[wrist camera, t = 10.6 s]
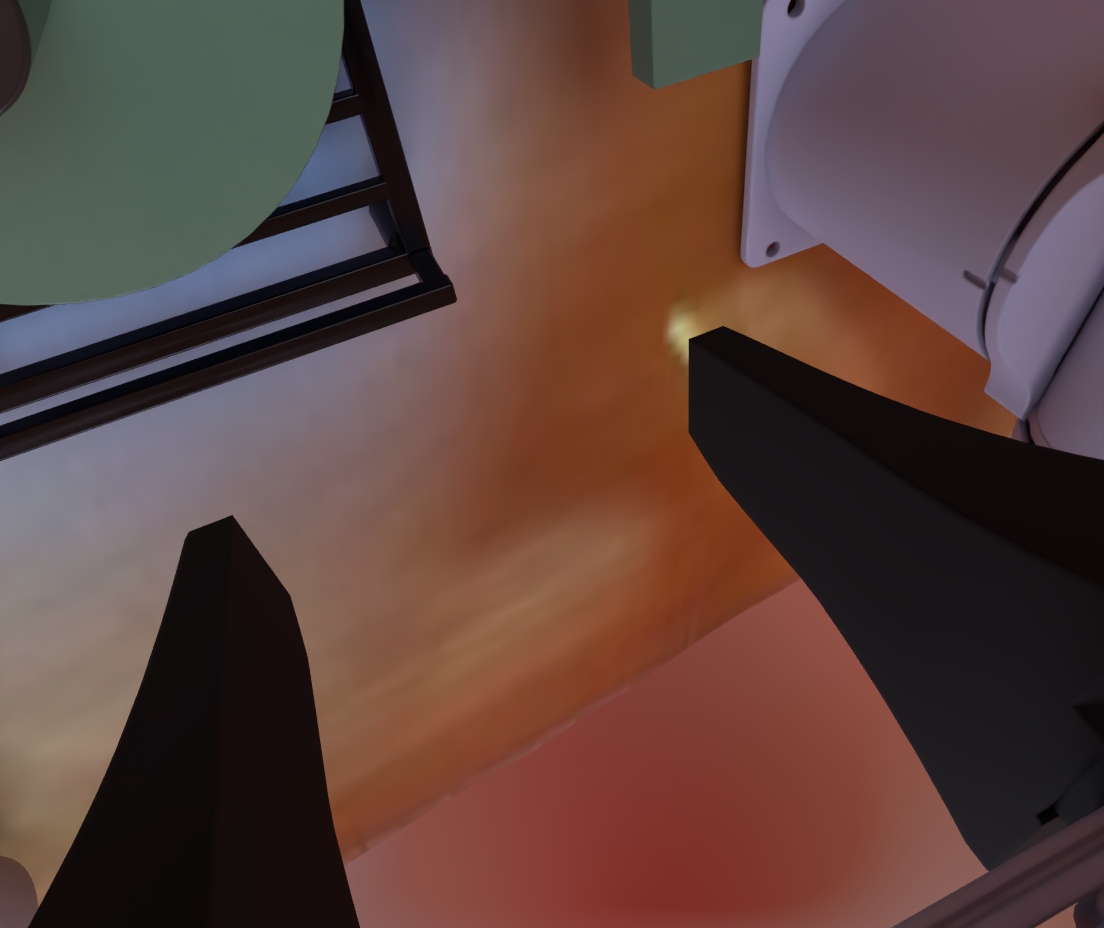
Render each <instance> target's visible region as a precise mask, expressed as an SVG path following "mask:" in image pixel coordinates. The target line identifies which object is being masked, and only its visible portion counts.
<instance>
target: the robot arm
mask: <svg viewBox="0 0 1104 928" xmlns="http://www.w3.org/2000/svg"><path fill="white" fill-rule="evenodd" d="M790 1H791V0H763V11H762V26H761V41H760V55H759V57H757V58H754V59H752V68H751V85H750V102H749V118H748V135H747V152H746V169H745V186H744V203H743V220H742V236H741V253H740V254H741V259H742V261H743V262H744V263H745V264H747V265H748V266H749V267H752V268H755V267H759V266H762V265H765V264H767V263H770V262H773V261H775V260H778V259H781V258H784V257H786V256H789V255H792V254H794V253H797V252H800V251H803V250H805V249H808V248H811V247H814V246H816V245H819V244H822V243H824V244H826V245H827V246H828V247H830V248H831V249H833V250H834V251H835V252H837V253H838V254H840V255H841V256H842V257H844V258H845V259H847V260H848V261H849V262H851V263H852V264H854V265H855V266H856V267H858V268H859V269H861V270H862V271H863V272H865V273H866V274H868V275H869V276H871V277H872V278H873V279H875V280H876V281H878V282H879V283H880V284H882V285H883V286H885V287H886V288H887V289H889V290H890V291H892V292H893V293H894V294H896V295H897V296H899V297H900V298H901V299H903V300H904V301H906V302H907V303H908V304H910V305H911V306H913V307H914V308H915V309H917V310H918V311H920V312H921V313H922V314H924V315H925V316H927V317H928V318H929V319H931V320H932V321H934V322H935V323H936V324H938V325H939V326H941V327H942V328H943V329H945V330H946V331H948V332H949V333H950V334H952V335H953V336H955V337H956V338H958V339H959V340H960V341H962V342H963V343H965V344H966V345H967V346H969V347H970V348H972V349H973V350H974V351H976V352H977V353H979V354H980V355H981V356H983V357H984V358H986V359H987V360H988V361H990V362H991V372H990V376H989V379H988V381H987V383H986V386H985V389H984V392H985V393H986V394H988V395H989V396H990V397H992V398H993V399H994V400H996V401H997V402H998V403H1000V404H1001V405H1002V406H1004V407H1005V408H1006V409H1008V410H1009V411H1010V412H1012V413H1013V414H1014V415H1016V416H1017V417H1018V420H1017V421H1016V423H1015V426H1014V429H1013V433H1012V437H1011V438H1007V437H1004V436H1000V435H996V434H993V433H990V432H986V431H983V430H980V429H976V428H973V427H970V426H967V425H963V424H960V423H957V422H953V421H950V420H947V419H944V418H941V417H938V416H935V415H932V414H929V413H926V412H923V411H920V410H918V409H915V408H912V407H910V406H907V405H904V404H902V403H899V402H896V401H894V400H891V399H889V398H886V397H883V396H881V395H878V394H876V393H873V392H871V391H868V390H866V389H863V388H861V387H858V386H856V385H854V384H851V383H849V382H847V381H844V380H842V379H840V378H837V377H835V376H833V375H830V374H828V373H826V372H824V371H821V370H819V369H817V368H815V367H812V366H810V365H808V364H806V363H804V362H801V361H799V360H797V359H795V358H793V357H791V356H788V355H786V354H784V353H782V352H780V351H778V350H775V349H773V348H771V347H769V346H767V345H765V344H762V343H760V342H758V341H756V340H754V339H752V338H749V337H747V336H745V335H743V334H740V333H738V332H736V331H734V330H731V329H729V328H727V327H724V326H722V327H719V328H717V329H714V330H712V331H709V332H706V333H704V334H701V335H699V336H696V337H693V338H691V339H689V434H690V435H691V437H692V439H693V440H694V442H695V443H696V445H697V447H698V448H699V450H700V452H701V453H702V455H703V456H704V458H705V460H706V461H707V463H708V464H709V466H710V467H711V469H712V470H713V472H714V473H715V475H716V476H717V478H718V480H719V481H720V482H721V484H722V485H723V486H724V487H725V488H726V490H727V491H728V492H729V493H730V495H731V496H732V497H733V498H734V499H735V501H736V502H737V503H738V504H739V505H740V507H741V508H742V509H743V510H744V511H745V513H746V514H747V515H748V516H749V517H750V518H751V520H752V521H753V522H754V523H755V524H756V526H757V527H758V528H759V529H760V530H761V531H762V533H763V534H764V535H765V536H766V537H767V539H768V540H769V541H770V542H771V543H772V544H773V546H774V547H775V548H776V549H777V550H778V551H779V553H780V554H781V555H782V556H783V557H784V559H785V560H786V561H787V562H788V563H789V564H790V566H791V567H792V568H793V569H794V570H795V572H796V573H797V574H798V575H799V576H800V577H801V579H802V580H803V581H804V582H805V584H806V585H807V586H808V587H809V589H810V590H811V591H812V593H813V594H814V595H815V597H816V598H817V599H818V600H819V602H820V603H821V605H822V606H823V608H824V609H825V611H826V612H827V614H828V615H829V616H830V618H831V619H832V621H833V622H834V624H835V625H836V627H837V628H838V630H839V631H840V633H841V634H842V636H843V637H844V639H845V640H846V642H847V643H848V644H849V646H850V647H851V649H852V650H853V652H854V654H855V655H856V657H857V658H858V660H859V661H860V663H861V664H862V666H863V667H864V669H865V670H866V672H867V674H868V675H869V677H870V678H871V680H872V682H873V683H874V684H875V686H876V688H877V689H878V691H879V692H880V694H881V695H882V697H883V699H884V700H885V702H886V704H887V705H888V707H889V709H890V710H891V712H892V714H893V715H894V717H895V719H896V720H897V722H898V724H899V725H900V727H901V729H902V730H903V732H904V734H905V735H906V737H907V738H908V740H909V742H910V743H911V745H912V747H913V748H914V750H915V752H916V753H917V755H918V757H919V759H920V760H921V762H922V764H923V766H924V768H925V769H926V771H927V773H928V775H929V777H930V778H931V780H932V782H933V784H934V785H935V787H936V789H937V791H938V793H939V794H940V796H941V798H942V800H943V801H944V803H945V805H946V807H947V808H948V810H949V812H950V814H951V816H952V818H953V820H954V822H955V823H956V825H957V827H958V829H959V831H960V833H961V835H962V837H963V839H964V841H965V842H966V843H967V845H968V846H969V847H970V849H971V850H972V851H973V853H974V854H975V855H976V856H977V858H978V859H979V860H980V862H981V863H982V864H983V866H984V867H985V868H986V869H987V870H988V871H989V872H988V873H986V874H984V875H982V876H981V877H979V878H977V879H975V880H974V881H972V882H970V883H968V884H967V885H965V886H963V887H961V888H960V889H958V890H956V891H954V892H953V893H951V894H949V895H947V896H946V897H944V898H942V899H941V900H939V901H937V902H935V903H934V904H932V905H930V906H929V907H927V908H925V909H923V910H921V911H920V912H918V913H916V914H914V915H913V916H911V917H909V918H907V919H906V920H904V921H902V922H900V923H899V924H897V925H895V926H893V927H892V928H1035V927H1037V926H1039V925H1040V924H1042V923H1044V922H1045V921H1047V920H1049V919H1050V918H1052V917H1054V916H1055V915H1057V914H1058V913H1060V912H1062V911H1063V910H1065V909H1067V908H1068V907H1070V906H1072V905H1074V904H1075V903H1077V902H1078V903H1077V905H1075V908H1074V915H1073V916H1074V921H1075V924H1076V928H1104V0H796V3H795V6H794V8H793V9H792V11H791V12H789V13H788V10H787V9H788V5H789V2H790ZM771 243H773V244H772V246H771V247H770V249H768V250H767V248H768V246H769V245H770V244H771ZM28 928H360V926H359V922H358V919H357V915H356V911H355V907H354V904H353V900H352V896H351V893H350V889H349V885H348V881H347V877H346V873H345V869H344V865H343V861H342V857H341V853H340V849H339V845H338V841H337V838H336V834H335V830H334V825H333V819H332V814H331V809H330V804H329V798H328V792H327V785H326V778H325V771H324V764H323V757H322V750H321V743H320V736H319V729H318V723H317V716H316V709H315V702H314V695H313V689H312V682H311V675H310V669H309V663H308V657H307V653H306V649H305V646H304V642H303V638H302V635H301V631H300V627H299V624H298V620H297V617H296V614H295V610H294V607H293V603H292V600H291V596H290V595H289V593H288V592H287V590H286V589H285V588H284V586H283V585H282V583H281V582H280V581H279V579H278V578H277V576H276V575H275V574H274V572H273V571H272V570H271V568H270V567H269V565H268V564H267V563H266V561H265V560H264V558H263V557H262V556H261V554H260V553H259V551H258V550H257V549H256V547H255V546H254V545H253V543H252V542H251V540H250V539H249V538H248V536H247V535H246V533H245V532H244V531H243V529H242V528H241V526H240V525H239V524H238V522H237V521H236V519H235V518H234V517H233V515H231V516H229V517H226V518H224V519H221V520H218V521H216V522H213V523H211V524H208V525H205V526H203V527H200V528H198V529H195V530H192V531H190V532H189V533H188V535H187V537H186V539H185V541H184V545H183V548H182V552H181V556H180V559H179V563H178V567H177V570H176V574H175V578H174V581H173V585H172V588H171V592H170V595H169V599H168V602H167V606H166V609H165V612H164V616H163V619H162V622H161V626H160V629H159V632H158V635H157V638H156V641H155V644H154V647H153V650H152V653H151V656H150V659H149V662H148V665H147V668H146V671H145V674H144V677H143V680H142V683H141V686H140V688H139V691H138V694H137V696H136V699H135V701H134V704H133V707H132V709H131V712H130V714H129V717H128V720H127V722H126V725H125V727H124V730H123V732H122V735H121V738H120V740H119V743H118V745H117V748H116V750H115V753H114V755H113V757H112V760H111V762H110V764H109V767H108V769H107V771H106V774H105V776H104V778H103V781H102V783H101V785H100V787H99V789H98V792H97V794H96V796H95V798H94V800H93V802H92V805H91V807H90V809H89V811H88V813H87V815H86V817H85V819H84V821H83V823H82V825H81V828H80V830H79V832H78V834H77V836H76V838H75V840H74V842H73V844H72V846H71V848H70V850H69V851H68V853H67V855H66V857H65V859H64V861H63V863H62V865H61V867H60V869H59V870H58V872H57V874H56V876H55V878H54V880H53V882H52V884H51V886H50V887H49V889H48V891H47V893H46V895H45V897H44V899H43V901H42V903H41V904H40V906H39V908H38V910H37V912H36V913H35V915H34V917H33V919H32V921H31V922H30V924H29V926H28Z"/></svg>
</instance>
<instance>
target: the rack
mask: <svg viewBox="0 0 1104 928" xmlns="http://www.w3.org/2000/svg"><path fill="white" fill-rule="evenodd" d="M341 58H342V61H343V65H344V68H345V71H346V74H347V77H348V80H349V83H350V87H351V89H348V90H344V91H341V92H338V93H334V96H333V100H332V104H331V108H330V112H329V115H328V118H327V120H326V123H325V125H326V124H330V123H333V122H336V121H340V120H343V119H346V118H350V117H353V116H357V115H360V118H361V121H362V124H363V128H364V131H365V134H366V137H367V140H368V143H369V146H370V150H371V153H372V156H373V159H374V162H375V165H376V168H377V172H378V175H379V176H377V177H374V178H371V179H368V180H365V181H361V182H358V183H355V184H352V185H349V186H345V187H342V188H339V189H336V190H333V191H329V192H326V193H323V194H320V195H317V196H313V197H310V198H307V199H304V200H301V201H297V202H294V203H291V204H288V205H284V206H281V207H278V208H276V209H275V210H274V211H273V212H272V213H271V214H270V215H269V216H268V217H267V218H266V219H265V220H264V221H263V222H262V223H261V224H260V225H259V226H258V227H257V228H256V229H255V230H254V231H253V232H252V233H251V234H250V235H249V236H247V237H246V238H245V239H243V240H242V241H241V242H239V243H238V244H236V245H235V246H234V247H232V248H231V249H233V248H236V247H239V246H242V245H245V244H249V243H252V242H255V241H258V240H261V239H264V238H267V237H271V236H274V235H277V234H280V233H283V232H286V231H289V230H293V229H296V228H299V227H302V226H305V225H308V224H311V223H315V222H318V221H321V220H324V219H327V218H330V217H333V216H337V215H340V214H343V213H346V212H349V211H352V210H355V209H359V208H362V207H365V206H368V205H369V212H370V215H371V217H372V219H373V221H374V223H375V225H376V227H377V229H378V230H379V232H380V234H381V236H382V238H383V240H384V242H385V244H386V246H387V247H385V248H382V249H379V250H376V251H373V252H370V253H367V254H364V255H361V256H358V257H355V258H352V259H349V260H346V261H343V262H340V263H337V264H334V265H330V266H327V267H324V268H321V269H318V270H315V271H312V272H309V273H306V274H303V275H300V276H297V277H294V278H291V279H288V280H285V281H282V282H279V283H276V284H273V285H270V286H267V287H264V288H261V289H258V290H255V291H252V292H249V293H246V294H242V295H239V296H236V297H233V298H230V299H227V300H224V301H221V302H218V303H215V304H212V305H209V306H206V307H203V308H200V309H197V310H194V311H191V312H188V313H185V314H182V315H179V316H176V317H173V318H170V319H167V320H164V321H161V322H158V323H155V324H151V325H148V326H145V327H142V328H139V329H136V330H133V331H130V332H127V333H124V334H121V335H118V336H115V337H112V338H109V339H106V340H103V341H100V342H97V343H94V344H91V345H88V346H85V347H82V348H79V349H76V350H73V351H70V352H67V353H63V354H60V355H57V356H54V357H51V358H48V359H45V360H42V361H39V362H36V363H33V364H30V365H27V366H24V367H21V368H18V369H15V370H12V371H9V372H6V373H3V374H0V414H1V413H4V412H7V411H10V410H13V409H16V408H19V407H22V406H25V405H28V404H31V403H33V402H36V401H39V400H42V399H45V398H48V397H51V396H54V395H57V394H60V393H63V392H66V391H69V390H72V389H75V388H78V387H81V386H84V385H87V384H90V383H93V382H96V381H99V380H101V379H104V378H107V377H110V376H113V375H116V374H119V373H122V372H125V371H128V370H131V369H134V368H137V367H140V366H143V365H146V364H149V363H152V362H155V361H158V360H161V359H164V358H167V357H169V356H172V355H175V354H178V353H181V352H184V351H187V350H190V349H193V348H196V347H199V346H202V345H205V344H208V343H211V342H214V341H217V340H220V339H223V338H226V337H229V336H232V335H235V334H237V333H240V332H243V331H246V330H249V329H252V328H255V327H258V326H261V325H264V324H267V323H270V322H273V321H276V320H279V319H282V318H285V317H288V316H291V315H294V314H297V313H300V312H302V311H305V310H308V309H311V308H314V307H317V306H320V305H323V304H326V303H329V302H332V301H335V300H338V299H341V298H344V297H347V296H350V295H353V294H356V293H359V292H362V291H365V290H368V289H370V288H373V287H376V286H379V285H382V284H385V283H388V282H391V281H394V280H397V279H400V278H403V277H406V276H409V275H412V274H416V276H417V278H418V280H419V282H420V283H417V284H414V285H411V286H408V287H405V288H403V289H400V290H397V291H394V292H391V293H388V294H385V295H382V296H379V297H376V298H373V299H370V300H367V301H364V302H361V303H359V304H356V305H353V306H350V307H347V308H344V309H341V310H338V311H335V312H332V313H329V314H326V315H323V316H320V317H317V318H315V319H312V320H309V321H306V322H303V323H300V324H297V325H294V326H291V327H288V328H285V329H282V330H279V331H276V332H273V333H271V334H268V335H265V336H262V337H259V338H256V339H253V340H250V341H247V342H244V343H241V344H238V345H235V346H232V347H229V348H227V349H224V350H221V351H218V352H215V353H212V354H209V355H206V356H203V357H200V358H197V359H194V360H191V361H188V362H185V363H183V364H180V365H177V366H174V367H171V368H168V369H165V370H162V371H159V372H156V373H153V374H150V375H147V376H144V377H141V378H139V379H136V380H133V381H130V382H127V383H124V384H121V385H118V386H115V387H112V388H109V389H106V390H103V391H100V392H97V393H95V394H92V395H89V396H86V397H83V398H80V399H77V400H74V401H71V402H68V403H65V404H62V405H59V406H56V407H53V408H51V409H48V410H45V411H42V412H39V413H36V414H33V415H30V416H27V417H24V418H21V419H18V420H15V421H12V422H9V423H7V424H4V425H1V426H0V461H2V460H5V459H8V458H11V457H14V456H16V455H19V454H22V453H25V452H28V451H31V450H34V449H36V448H39V447H42V446H45V445H48V444H51V443H54V442H57V441H59V440H62V439H65V438H68V437H71V436H74V435H77V434H80V433H82V432H85V431H88V430H91V429H94V428H97V427H100V426H102V425H105V424H108V423H111V422H114V421H117V420H120V419H123V418H125V417H128V416H131V415H134V414H137V413H140V412H143V411H145V410H148V409H151V408H154V407H157V406H160V405H163V404H166V403H168V402H171V401H174V400H177V399H180V398H183V397H186V396H188V395H191V394H194V393H197V392H200V391H203V390H206V389H209V388H211V387H214V386H217V385H220V384H223V383H226V382H229V381H232V380H234V379H237V378H240V377H243V376H246V375H249V374H252V373H254V372H257V371H260V370H263V369H266V368H269V367H272V366H275V365H277V364H280V363H283V362H286V361H289V360H292V359H295V358H297V357H300V356H303V355H306V354H309V353H312V352H315V351H318V350H320V349H323V348H326V347H329V346H332V345H335V344H338V343H340V342H343V341H346V340H349V339H352V338H355V337H358V336H361V335H363V334H366V333H369V332H372V331H375V330H378V329H381V328H384V327H386V326H389V325H392V324H395V323H398V322H401V321H404V320H406V319H409V318H412V317H415V316H418V315H421V314H424V313H427V312H429V311H432V310H435V309H438V308H441V307H444V306H447V305H449V304H452V303H455V302H457V298H456V294H455V290H454V287H453V284H452V282H451V280H450V279H449V277H448V276H447V275H446V274H444V273H443V271H442V270H441V268H440V266H439V265H438V263H437V261H436V260H435V258H434V256H433V254H432V250H431V247H430V243H429V240H428V236H427V232H426V229H425V225H424V222H423V218H422V215H421V211H420V208H419V204H418V201H417V197H416V194H415V190H414V187H413V183H412V180H411V176H410V173H409V169H408V166H407V162H406V159H405V155H404V152H403V148H402V145H401V141H400V138H399V134H398V131H397V127H396V124H395V120H394V117H393V113H392V110H391V106H390V103H389V99H388V96H387V92H386V89H385V85H384V82H383V78H382V75H381V71H380V68H379V64H378V61H377V57H376V54H375V50H374V47H373V43H372V39H371V36H370V32H369V29H368V25H367V22H366V18H365V15H364V11H363V8H362V4H361V1H360V0H344V34H343V43H342V52H341ZM54 305H57V304H53V305H11V304H0V322H3V321H7V320H10V319H13V318H16V317H19V316H22V315H25V314H29V313H32V312H35V311H38V310H41V309H44V308H47V307H51V306H54Z"/></svg>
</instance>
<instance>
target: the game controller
mask: <svg viewBox="0 0 1104 928" xmlns="http://www.w3.org/2000/svg"><path fill="white" fill-rule="evenodd" d="M37 910H38V903H37V895H36V891H35V887H34V884H33V881H32V879H31V877H30V875H29V873H28V872H27V870H26V869H25V868H24V867H23V866H22V865H21V864H20V863H19V862H17V861H15V860H13V859H11V858H8V857H4V856H0V928H28V926H29V924H30V922H31V921H32V919H33V917H34V915H35V913H36V912H37Z"/></svg>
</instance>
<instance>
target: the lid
mask: <svg viewBox="0 0 1104 928" xmlns="http://www.w3.org/2000/svg"><path fill="white" fill-rule="evenodd" d="M343 34H344V0H0V304H11V305H53V304H74V303H81V302H88V301H95V300H102V299H109V298H115V297H119V296H123V295H127V294H131V293H135V292H139V291H142V290H146V289H150V288H154V287H156V286H159V285H161V284H164V283H166V282H169V281H171V280H174V279H177V278H179V277H182V276H184V275H187V274H189V273H191V272H193V271H194V270H196V269H198V268H200V267H202V266H204V265H205V264H207V263H209V262H211V261H213V260H215V259H216V258H218V257H220V256H222V255H223V254H224V253H226V252H227V251H228V250H230V249H231V248H232V247H234V246H235V245H236V244H238V243H239V242H241V241H242V240H243V239H245V238H246V237H247V236H249V235H250V234H251V233H252V232H253V231H254V230H255V229H256V228H257V227H258V226H259V225H260V224H261V223H262V222H263V221H264V220H265V219H266V218H267V217H268V216H269V215H270V214H271V213H272V212H273V211H274V210H275V209H276V208H277V207H278V205H279V204H280V203H281V202H282V200H283V199H284V198H285V196H286V195H287V194H288V192H289V191H290V190H291V188H292V187H293V186H294V185H295V183H296V182H297V180H298V179H299V177H300V175H301V173H302V172H303V170H304V168H305V166H306V164H307V163H308V161H309V159H310V157H311V156H312V154H313V152H314V150H315V148H316V146H317V143H318V141H319V138H320V135H321V133H322V130H323V128H324V125H325V123H326V120H327V118H328V115H329V112H330V108H331V104H332V100H333V96H334V92H335V88H336V84H337V79H338V75H339V70H340V61H341V52H342V43H343Z"/></svg>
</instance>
